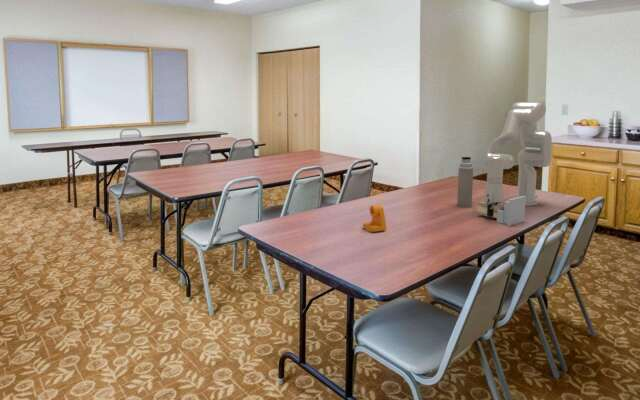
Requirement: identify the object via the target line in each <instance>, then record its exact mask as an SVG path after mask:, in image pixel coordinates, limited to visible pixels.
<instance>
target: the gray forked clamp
mask: <svg viewBox="0 0 640 400" xmlns="http://www.w3.org/2000/svg"><path fill="white" fill-rule="evenodd" d="M525 203H526V196H521V197H517V196H516V197H512V198H509V199H508V200H506V201H504V205H503V206H504V211H502V210H497V218H496V223H499V224H505V225H506V226H507V227H511V226H513V225H517V224H520V223H523V222H525V216H526V215H525V214H526V206H525Z"/></svg>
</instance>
